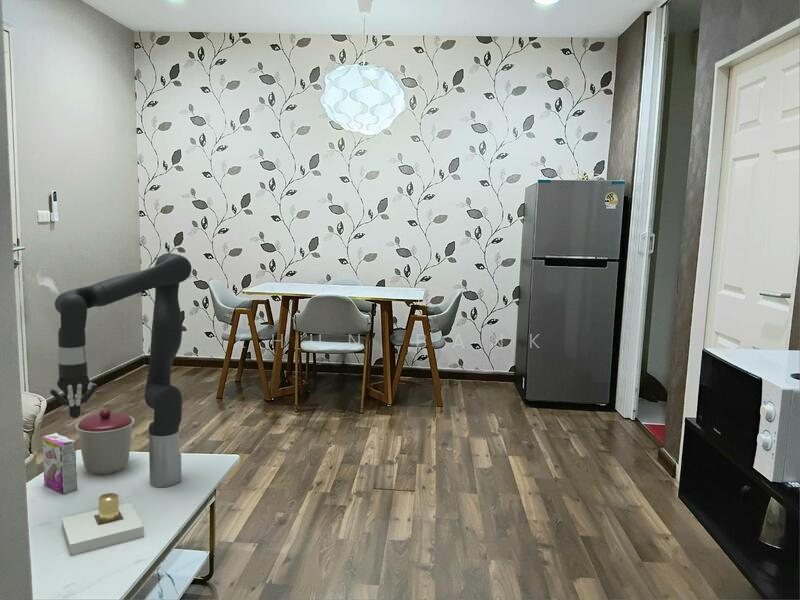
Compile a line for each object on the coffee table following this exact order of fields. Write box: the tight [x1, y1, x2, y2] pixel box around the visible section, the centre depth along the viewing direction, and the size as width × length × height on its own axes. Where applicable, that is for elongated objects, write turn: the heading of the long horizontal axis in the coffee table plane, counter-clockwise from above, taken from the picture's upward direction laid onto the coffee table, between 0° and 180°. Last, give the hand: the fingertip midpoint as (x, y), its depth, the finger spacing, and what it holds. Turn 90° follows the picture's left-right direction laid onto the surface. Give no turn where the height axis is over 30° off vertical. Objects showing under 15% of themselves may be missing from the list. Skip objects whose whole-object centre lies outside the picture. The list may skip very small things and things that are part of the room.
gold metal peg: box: [98, 492, 120, 525], centre depth 172 cm, size 5×5×9 cm
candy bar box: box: [41, 432, 78, 495], centre depth 194 cm, size 11×5×16 cm, turn 58°
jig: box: [61, 502, 145, 556], centre depth 170 cm, size 18×16×3 cm
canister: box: [74, 408, 135, 475], centre depth 209 cm, size 18×18×21 cm
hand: (74, 417), depth 182 cm, fingers closed
